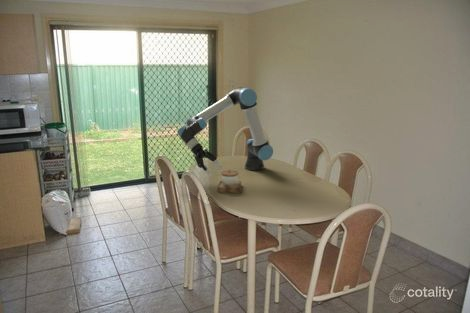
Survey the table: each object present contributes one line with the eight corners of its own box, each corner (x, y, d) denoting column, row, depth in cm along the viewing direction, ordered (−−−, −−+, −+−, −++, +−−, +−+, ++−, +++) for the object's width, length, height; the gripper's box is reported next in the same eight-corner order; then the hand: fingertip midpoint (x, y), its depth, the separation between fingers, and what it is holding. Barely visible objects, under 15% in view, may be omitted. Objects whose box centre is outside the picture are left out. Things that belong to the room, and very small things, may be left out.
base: (241, 185, 233) (241, 181, 232) (240, 192, 219) (240, 188, 219) (220, 185, 234) (220, 180, 233) (217, 192, 220) (217, 187, 220)
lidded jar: (240, 182, 229) (240, 168, 227) (234, 187, 219) (234, 173, 217) (224, 180, 233) (224, 167, 230) (218, 185, 223) (218, 171, 221)
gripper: (201, 146, 245) (221, 169, 242) (180, 153, 223) (201, 179, 220) (208, 139, 241) (227, 163, 238) (187, 146, 220) (208, 172, 217)
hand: (215, 171), depth 229 cm, fingers open, 13 cm apart
